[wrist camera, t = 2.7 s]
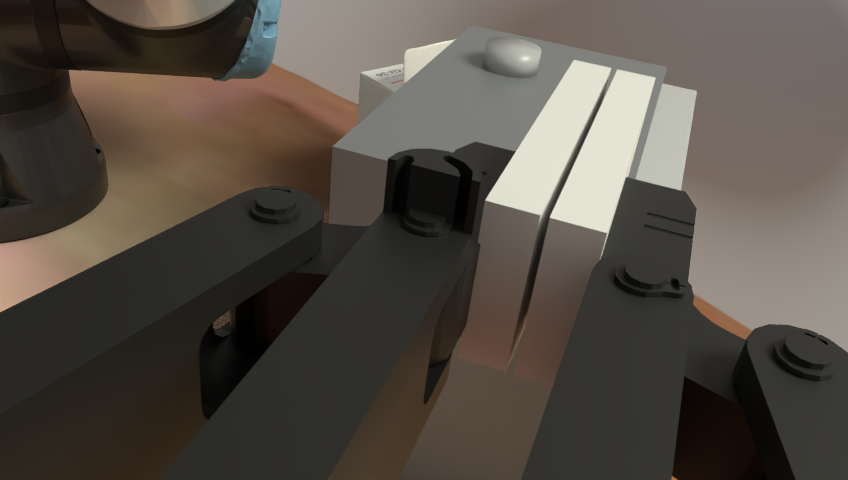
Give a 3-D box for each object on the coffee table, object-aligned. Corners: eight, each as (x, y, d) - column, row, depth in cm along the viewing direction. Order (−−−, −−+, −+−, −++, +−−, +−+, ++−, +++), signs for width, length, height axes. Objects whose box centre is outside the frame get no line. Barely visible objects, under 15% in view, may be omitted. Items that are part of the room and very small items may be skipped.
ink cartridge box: (424, 181, 69) (445, 15, 61) (464, 205, 66) (491, 34, 58) (348, 208, 64) (360, 30, 56) (388, 235, 61) (407, 52, 53)
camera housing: (316, 451, 42) (333, 119, 32) (437, 264, 58) (474, 6, 48) (574, 545, 38) (686, 209, 28) (625, 319, 55) (708, 54, 45)
